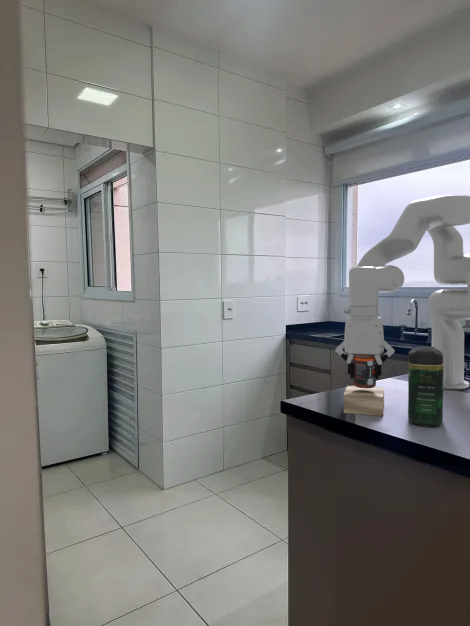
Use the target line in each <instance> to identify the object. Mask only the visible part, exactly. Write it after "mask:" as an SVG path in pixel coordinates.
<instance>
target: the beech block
mask: <svg viewBox="0 0 470 626" xmlns="http://www.w3.org/2000/svg"><path fill="white" fill-rule="evenodd" d="M384 411H385V387H376V386H375V387H373V388H358V387H356V386H354V385H347V386H346V388H345V391H344V393H343V414H351V415H352V414H353V415H365V416H378V417H384Z"/></svg>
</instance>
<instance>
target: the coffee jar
mask: <svg viewBox="0 0 470 626" xmlns="http://www.w3.org/2000/svg"><path fill="white" fill-rule="evenodd" d="M407 362H408V365H407V367H408V373H407V374H408V380H407V382H408V383H407V384H408V385H407V386H408V389H407V390H408V392H407V394H408V395H407V396H408V397H407V399H408V400H407V406H408V407H407V418H408V421H409V423H412V424H415V425H418V426H420V427H421V426H422V427H429V428H430V427H435V426H436V427H439V426H441V425H442V424H443V421H444V420H443V419H444V418H443V417H444V389H443V354H442V352H441V351H439V350H437V349H435V348H434V347H432V346H427V345H426V346H422V345H419V346H417V347H415V348H413V349H411V350H410V351H409V352H408V361H407Z"/></svg>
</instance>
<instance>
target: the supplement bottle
mask: <svg viewBox="0 0 470 626" xmlns="http://www.w3.org/2000/svg"><path fill="white" fill-rule="evenodd" d="M352 360H353V378H352V380H353V381H352V382H353V386H356V387H358V388H373V387H376V384H377V379H376V362H377V361H376V358H375V356H374V355H355V354H354V356H353V359H352Z"/></svg>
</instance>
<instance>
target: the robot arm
mask: <svg viewBox="0 0 470 626" xmlns="http://www.w3.org/2000/svg"><path fill="white" fill-rule="evenodd" d="M468 224H470V196H469V195H468V194H467V195H466V194H464V195H463V194H462V195H461V194H459V195H458V194H455V195H453V194H444V195H436V196H431V197H426V198H422V199H417V200H414V201H410V203H408V204H407V205H406V206H405V208H404V210H403V211H402V213H401V215H400V216H399V218H398V219H397V222H396V223H395V225H394V227H393V228H392V230H391V232H390V233H389V235H387V236H386V237H384V238H383V239H382V240H381V241H379V242H378V243H377V244H374V245H373V247H371V248H370V249H369V250H368V251H367V252H366V253H365V254H364V255H363V256H362V257H361V259H360V260H359V262H358V263H357V265H356V266H355V267H351V268H350V269H349V271H348V299H349V301H348V302H349V303H348V304H349V306H348V307H345V308H343V313H344V314H348V315H349V316H348V317H346V319H345V326H344V339H343V341H342V342H341V343H340V344H338V346H337V347H336V348H335V352H336V353H337V354H338V355H339V356H340V357H341V358H342V359H343V360H344V361H345V362H346V363H347V375H350V376H349V378H350V379H353V356H354V354H355V355H374V356H375V358H376V380H379V378H380V376H381V377H382V365H383V363H385V361H387V359H389V358H390V357H391V356H392V355H393V354H395V349H394V348H393V347H392V346H391V345H390V344H389V343H388V342H387V341H386V340H385V338H384V326H383V325H384V324H383V320H382V317H381V316H379V293H383V294H384V293H388V294H389V293H393V292H396V291H398V290H400V289H401V287H403V285H404V283H405V275H404V272H403V270H402V269H400V267H398V266H395V265H392V264H390V265H387V264H389V263H391V262H393V261H396V260H398V259H401V258H403V257H405V256H408V255H409V254H412V253H413V252H414V251H415V250H416V249H417V248H418V246H419V244H420V243H421V241H422V239H423V237H424V235H425V233H426V231H427V233H428V234H429V235H430V237H431V240H432V244H433V278H434V280H435V282H436V283H437V284H439V285H443V286H461V285H462V286H465V285H467V288H466V289H465V288H451V289H449V288H447V289H439V290H436V291H433V292H432V293H431V295H429V298H428V301H427V303H428V310H429V316H430V321H431V322H430V324H431V325H430V326H431V347H434V348H435V349H437V350H439V351H441V352H442V354H443V390H464V389H467V388H469V387H470V382H469V381H467V380H465V332H464V329H463V326H462V325H461V323H460V322H459V320H468V321H469V320H470V253H466V254H464V240H463V236H462V235H461V233H460V232H459V230H457V228H456V226H465V225H468ZM343 349H344V351H343ZM384 350H386V352H385V353H384ZM383 353H384V354H383ZM382 354H383V355H382Z"/></svg>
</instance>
